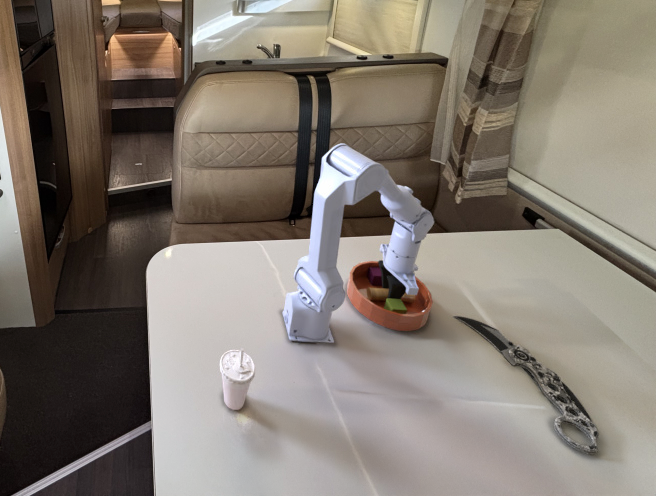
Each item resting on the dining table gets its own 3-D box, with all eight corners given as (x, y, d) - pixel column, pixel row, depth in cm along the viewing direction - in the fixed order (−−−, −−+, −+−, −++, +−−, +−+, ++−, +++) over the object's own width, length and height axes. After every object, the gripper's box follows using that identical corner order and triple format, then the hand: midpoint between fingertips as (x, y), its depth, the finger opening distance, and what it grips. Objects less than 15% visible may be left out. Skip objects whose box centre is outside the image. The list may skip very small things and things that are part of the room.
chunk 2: (389, 319, 97) (392, 309, 96) (383, 308, 100) (386, 298, 99) (404, 320, 97) (407, 310, 96) (397, 309, 100) (400, 298, 99)
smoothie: (244, 424, 77) (250, 371, 72) (211, 405, 80) (215, 353, 75) (255, 394, 82) (262, 342, 77) (224, 378, 85) (229, 326, 80)
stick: (369, 302, 102) (372, 294, 100) (365, 292, 104) (368, 284, 103) (413, 305, 101) (416, 297, 100) (408, 295, 103) (411, 287, 102)
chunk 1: (371, 285, 107) (374, 275, 106) (366, 276, 110) (368, 266, 109) (384, 286, 107) (387, 276, 105) (379, 277, 110) (381, 267, 108)
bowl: (362, 330, 95) (366, 313, 94) (336, 274, 111) (340, 259, 109) (442, 335, 94) (448, 318, 92) (405, 278, 110) (410, 263, 108)
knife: (453, 313, 98) (496, 310, 98) (452, 318, 98) (494, 315, 98) (571, 452, 72) (630, 447, 72) (568, 457, 72) (626, 453, 72)
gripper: (438, 273, 90) (423, 321, 95) (406, 230, 103) (393, 273, 108) (404, 271, 90) (390, 318, 95) (375, 228, 104) (365, 272, 109)
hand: (390, 294), depth 102 cm, fingers closed on stick, 3 cm apart
